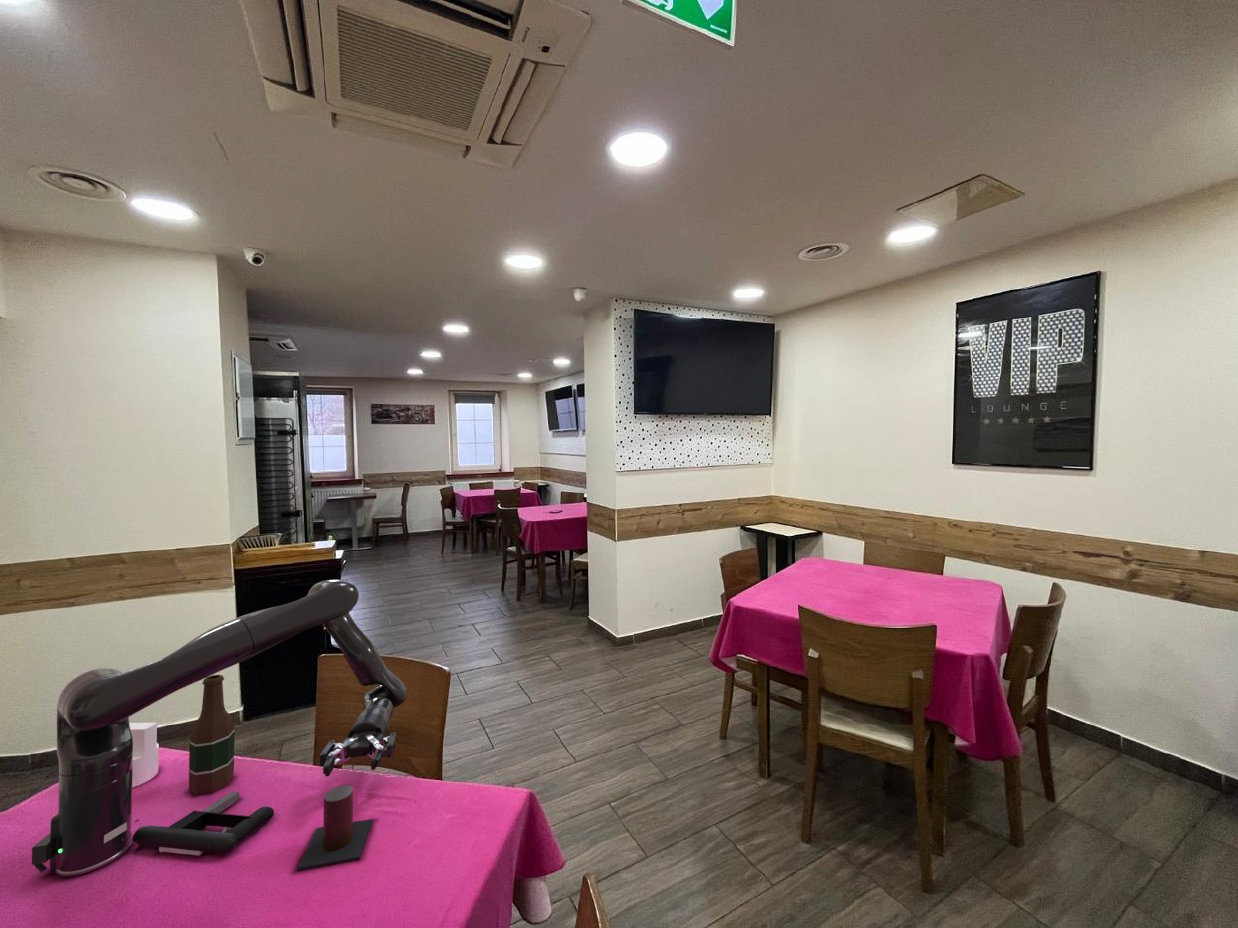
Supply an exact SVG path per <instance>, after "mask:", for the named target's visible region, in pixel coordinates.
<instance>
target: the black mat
mask: <svg viewBox="0 0 1238 928" xmlns="http://www.w3.org/2000/svg"><path fill="white" fill-rule="evenodd" d="M373 823H374V819H373V818H370V819H365V820H364V819H363V820H359V821H353V838H352V840H351V842H350V843H349V844H348V845H346V846H345V847H343V848H341V849H339V850H335V851H327V850H325V849H324V847H323V829H324V826H322V827H317V828H316V830H315V831H314V834H313V836H312V838H311V840H310V841H309V844H308V845H307V848H306V849H305V851H304V854H303V855H302V858H301V860H300V862H299V863H298V866H297V868H296V871H303V870H309V869H314V868H320V867H324V866H325V867H327V866H331V865H336V864H343V863H347V862H353V861H358V860H360V859H361V858H362V857H361V856H362V853H363V851H364V848H365V845H366V843H367V839H368V837H369V834H370V830H371V828H372V825H373Z"/></svg>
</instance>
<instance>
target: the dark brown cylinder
mask: <svg viewBox="0 0 1238 928" xmlns="http://www.w3.org/2000/svg"><path fill="white" fill-rule="evenodd" d="M353 822H354V787H353V786H352V785H349V784H342V785H338V786H335V787H332V788H330V789H329V790H327V792H325V793H324V796H323V827H324V829H323V847H324V849H325V850H327V851H335V850H339V849H341V848H343V847H345V846H346V845H348V844H349V843H350V842H351V840H352V838H353Z"/></svg>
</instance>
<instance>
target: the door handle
mask: <svg viewBox="0 0 1238 928" xmlns="http://www.w3.org/2000/svg"><path fill="white" fill-rule="evenodd" d="M239 800H240V791H235V790H234V791H233V790H232V791H231V792H229V793H228V794H226V795H224V796H223V797H221V798H220V799H218V800H217V801H215V802H213V803H212V804H210V805H209V806H207V807H206V808H204V809H203V810H193V811H192V812H189V813H188V814H187V815H185V816H184V817H182V818H180V819H179V820H177V821H176V822H174V823H172V824H171V825H170V826H162V825H143V826H139V828H137V829H136V831H134V833H133V835H132V845H134V844H136V845H138V846H145V847H154V848H158V852H159V853H172V854H173V853H174V854H181V855H191V856H201V855H202V854H203V853H208V854H209V855H211V854H217V855H218V854H219V855H226V854H228V853H230V852H231V851H233V850H234V849H235V848H236V846H237V845H238V844H239V843H241V842H242V841H243V840H244V839H246V838H247V837H248V836H250V835H251V834H252V833H253V832H255V831H256V830H258V828H260V827H261V826H263V825H264V824H265V823H267V822H268V821H269V820H271V818H273V816H274V815H275V810H274V809H273V808H272V807H271V806H262V807H260V808H257V810H255V811H253V812H252V813H251V814H249V815H242V814H233V813H232V814H231V813H222V812H223V811H225V810H226V809H227V808H229V807H231V806H232V805H234V804H235V803H236V802H239ZM206 826H209V827H219V828H222V831H221V832H220V831H219V832H218V831H211V830H210V831H209V830H203V829H205V828H206ZM229 828H230V829H229ZM228 829H229V830H228Z"/></svg>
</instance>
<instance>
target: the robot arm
mask: <svg viewBox="0 0 1238 928" xmlns="http://www.w3.org/2000/svg"><path fill="white" fill-rule="evenodd" d="M359 593H360V592H359V590H358V588H357V586H356V585H355V584H353V583H352V582H350V581H348V580H343V579H329V580H322V581H319V582H316V583H315V584H314V585H313V586H312V587H311V588H310V589H309V591H308V593H307V595H306V596H304V597H302V598H300V599H297V600H295V601H291V602H289V603H284V604H280V605H277V606H273V607H269V608H268V607H267V608H264V609H261V610H257V611H253V612H250V613H247V614H244V615H241V616H238V617H235V618H233V619H231V620H228V621H226V622H223V623H221V624H218V625H216V626H214V627H211V628H209V629H207V630H206V631H204V632H202V633H201V634H199V635H197V636H196V637H194V638H193V639H191V640H190V641H188V642H187V643H186V644H183V646H181V647H179V648H178V649H177V650H175V651H173V652H171V653H170V654H168V655H166V656H164V657H162V658H159V659H157V660H154V661H152V662H150V663H147V664H145V665H142V666H139V667H136V668H134V669H131V670H128V671H127V670H126V671H124V672H122V671H121V670H118V669H115V668H111V667H110V668H109V667H100V668H95V669H91V670H88V671H84V672H83V673H81V674H79V675H77V676H76V677H74V678H73V679H72V680H70V681H69V682H68V683H67V684H66V685H65V686H64V687H63V689H62V690H61V692H60V694H59V696H58V699H57V705H56V753H57V759H58V803H57V804H58V807H57V811H58V812H57V813H56V814H55V815H54V816H52V817H51V819H50V832H49V833H48V834H47V835H46V836H44V837H43V838H41V840H39V841H38V842H37V843H36V844H35V845H33V846H32V847H31V865H32V866H34V867H35V868H36V869H37V870H38V871H39V872H40V873H44V872H46V871H47V870H48V867H47V866H46V865H45V863H47V862H48V861H49V875H53V874H56V875H57V876H59V877H64V878H66V877H68V878H69V877H75V876H80V875H84V874H87V873H90V872H92V871H93V872H94V871H95V870H98V869H100V868H102V867H104V866H106V865H108V864H110V863H112V862H113V861H115V860H117V859H118V858H119V857H121V856H122V855H123V854H125V853H126V852H127V851H128V850H129V848H130V847H131V846H132V844H133V835H132V822H133V821H132V820H133V819H132V817H133V788H132V770H133V767H132V766H133V737H132V733H131V730H130V725H129V723H130V719H129V718H130V717H132V716H133V715H135V714H137V713H139V712H140V711H142V710H144V709H146V708H147V707H150V706H151V705H153V704H155V703H157V702H159V701H160V700H163V698H166V697H167V696H169V695H172V694H173V693H175V692H178V691H179V690H182V689H185V688H186V687H188V686H190V685H192V684H195V683H198V682H199V681H202V680H204V679H205V678H207V677H209V676H213V675H216V674H217V673H219V672H222V671H223V670H226V669H228V668H231V667H233V666H236V665H238V664H240V663H242V662H244V661H246V660H248V659H250V658H253V657H255V656H256V655H258V654H260V653H263V652H264V651H266V650H269V649H270V648H273V647H275V646H277V645H278V644H281V643H282V642H285V641H286V640H288V639H290V638H293V637H294V636H295V635H297V634H300V633H302V632H303V631H306V630H309V629H311V628H313V627H317V626H319V625H322V626H323V628H324V629H325V630H326V631H327V632H328V634H329V635H330V636H331V638H332V639H333V641H334V642H335V644H336V645H337V647H338V649H339V650H340V651H341V653H342V655H343V657H344V658H345V660H346V662H347V664H348V665H349V667H350V669H351V671H352V673H353V674H354V676H355V679H356V680H357V682H358V683H359V685H361V686H362V687H370V686H375V685H378V686H376V687H374V688H372V689H370V690H369V691H368V692H366V693H365V694H364V696H363V699H362V705H363V708H362V711H361V713H360V714H359V715H358V716H357V718H356V720H355V721H354V723H353V725H352V727H351V729H350V731H349V732H348V735H347V736H346V739H344V740H342V742H337V743H336V740H335V739H332V740H329V741H328V743H327V744H326V745H325V747H324V748H323V749H322V751H321V752H320V753H319V767H321V768H323V769H322V775H324V777H330V776H331V774H332V773H333V771H334V769H335V767H336V766H337V765H338V764H344V763H345V762H347V761H349V760H350V759H353V758H357V757H366V756H368V757H369V758H371V761H370V770H371V771H375V770H376V768H378V767H379V766H380V765H381V763H382V761H383V760H384V758H385V757H386V758H388V759H390V758H393V756H394V753H395V749H396V745H397V733H396V732H390V734H389V736H386V734H387V732H388V729H389V726H390V722H391V719H392V717H393V713H394V709H396V708H398V707H400V706H401V705H403V704H404V703H405V702H406V700H407V697H408V691H407V686H406V685H405V684H404V682H403V681H402V680H401V679H400V678H399V677H398V676H397V675H396V674H395V673H393V671H392V670H391V669H389V667H387V665H386V664H385V662H384V660H383V658H382V657H381V654H380V653H379V650H378V649H377V648H376V646H375V645H374V643H373V642H372V641H371V640H370V638H369V637H368V636H367V635H366V633H364V631H362V629H361V628H360V627H359V626H358V625H357V624H356V622H355V620H354V619H353V618H352V615H351V614H350V613H351V611H352V610H353V609H354V608H355V607H356V605H357V603H358V601H359V599H360V598H359V596H360V594H359ZM383 745H385V747H384V746H383ZM336 756H337V757H336Z"/></svg>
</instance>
